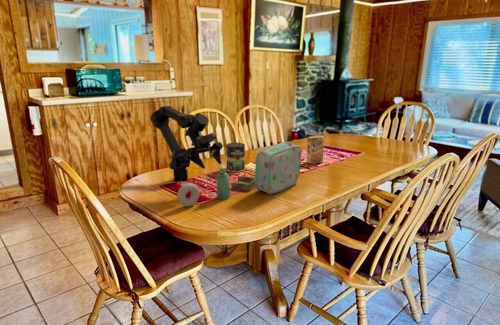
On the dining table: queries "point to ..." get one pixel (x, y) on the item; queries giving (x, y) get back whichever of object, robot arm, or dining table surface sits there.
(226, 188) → the bottle
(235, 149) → the coffee can
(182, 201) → the donut
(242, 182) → the rest
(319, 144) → the candy box
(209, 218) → the dining table surface
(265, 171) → the lunch box
